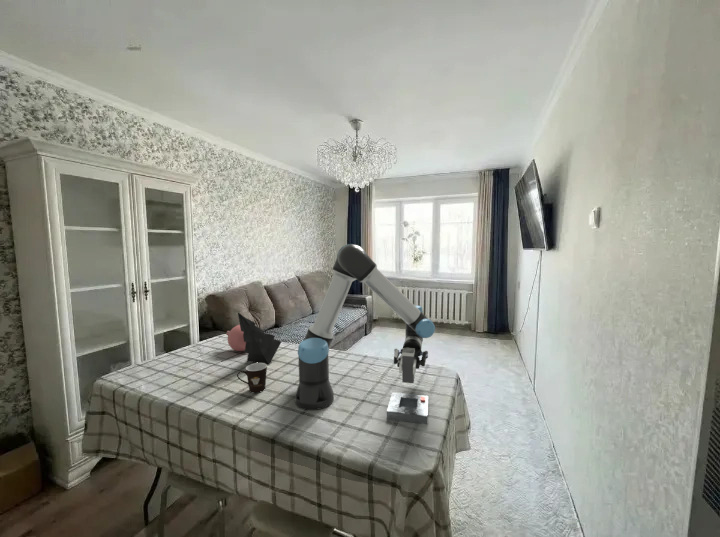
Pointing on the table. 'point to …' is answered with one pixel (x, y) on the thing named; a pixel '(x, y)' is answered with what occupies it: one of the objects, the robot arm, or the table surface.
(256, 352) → the dark angular faceted shape
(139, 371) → the table surface
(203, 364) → the table surface
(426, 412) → the socket block
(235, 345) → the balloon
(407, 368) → the plug
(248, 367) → the coffee mug
